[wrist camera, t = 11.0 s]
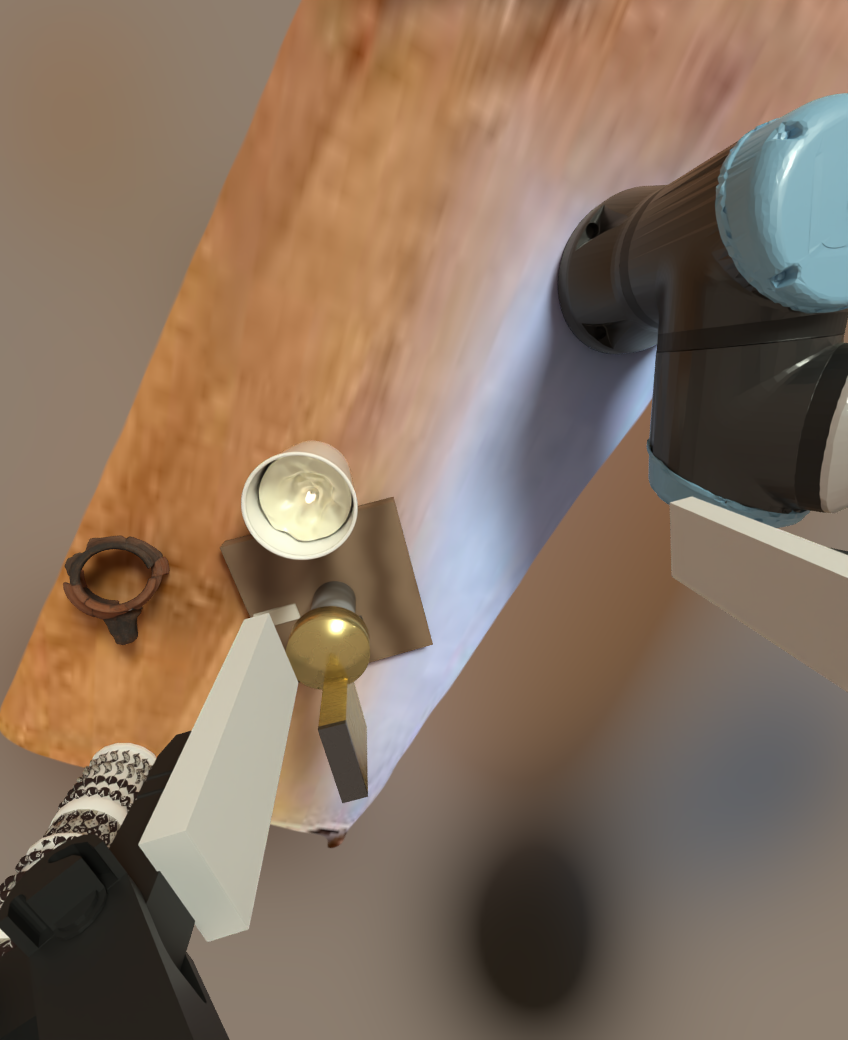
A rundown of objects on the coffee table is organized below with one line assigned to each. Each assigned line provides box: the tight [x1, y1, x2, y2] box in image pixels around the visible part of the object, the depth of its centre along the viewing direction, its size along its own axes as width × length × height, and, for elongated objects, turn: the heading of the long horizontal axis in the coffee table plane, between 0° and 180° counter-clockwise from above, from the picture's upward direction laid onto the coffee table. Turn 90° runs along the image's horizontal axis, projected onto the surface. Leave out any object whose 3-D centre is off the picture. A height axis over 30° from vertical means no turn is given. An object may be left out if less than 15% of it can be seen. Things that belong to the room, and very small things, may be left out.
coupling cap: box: [286, 606, 370, 803], centre depth 41 cm, size 16×8×8 cm, turn 10°
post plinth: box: [220, 497, 433, 683], centre depth 49 cm, size 20×20×10 cm
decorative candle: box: [0, 743, 157, 957], centre depth 46 cm, size 9×9×25 cm
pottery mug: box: [63, 536, 169, 645], centre depth 47 cm, size 12×10×8 cm
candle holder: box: [241, 441, 358, 560], centre depth 43 cm, size 10×10×12 cm
